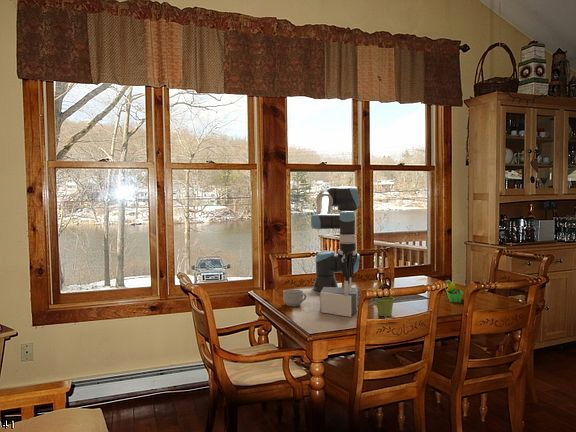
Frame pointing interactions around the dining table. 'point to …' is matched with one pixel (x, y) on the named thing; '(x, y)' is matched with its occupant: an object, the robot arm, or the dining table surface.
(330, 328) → the dining table surface
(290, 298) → the teacup
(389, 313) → the plant pot
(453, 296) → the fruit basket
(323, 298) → the door
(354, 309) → the box housing
